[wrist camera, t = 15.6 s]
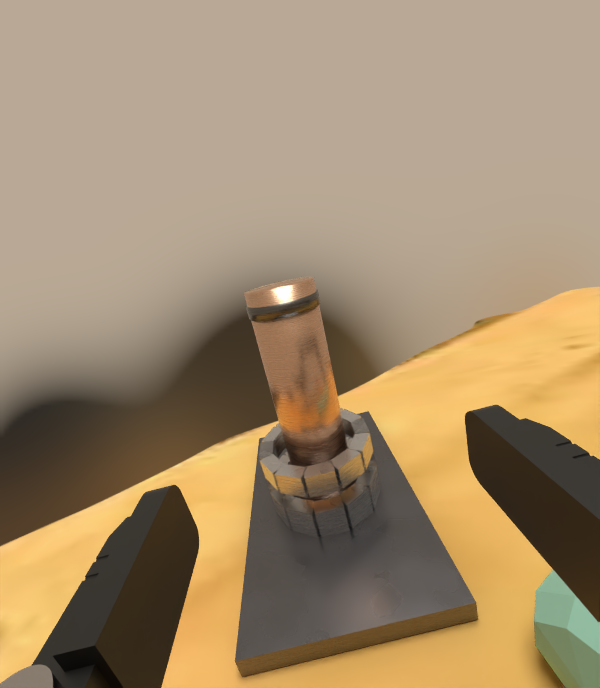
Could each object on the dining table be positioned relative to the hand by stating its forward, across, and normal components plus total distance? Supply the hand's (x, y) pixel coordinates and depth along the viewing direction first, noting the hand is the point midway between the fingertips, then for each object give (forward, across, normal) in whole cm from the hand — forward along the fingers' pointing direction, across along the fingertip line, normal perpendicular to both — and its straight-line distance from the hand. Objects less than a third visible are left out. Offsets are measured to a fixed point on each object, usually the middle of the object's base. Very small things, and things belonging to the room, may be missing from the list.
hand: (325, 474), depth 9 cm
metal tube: (+13, +1, +12) cm, 17 cm away
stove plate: (+13, +1, +13) cm, 18 cm away
